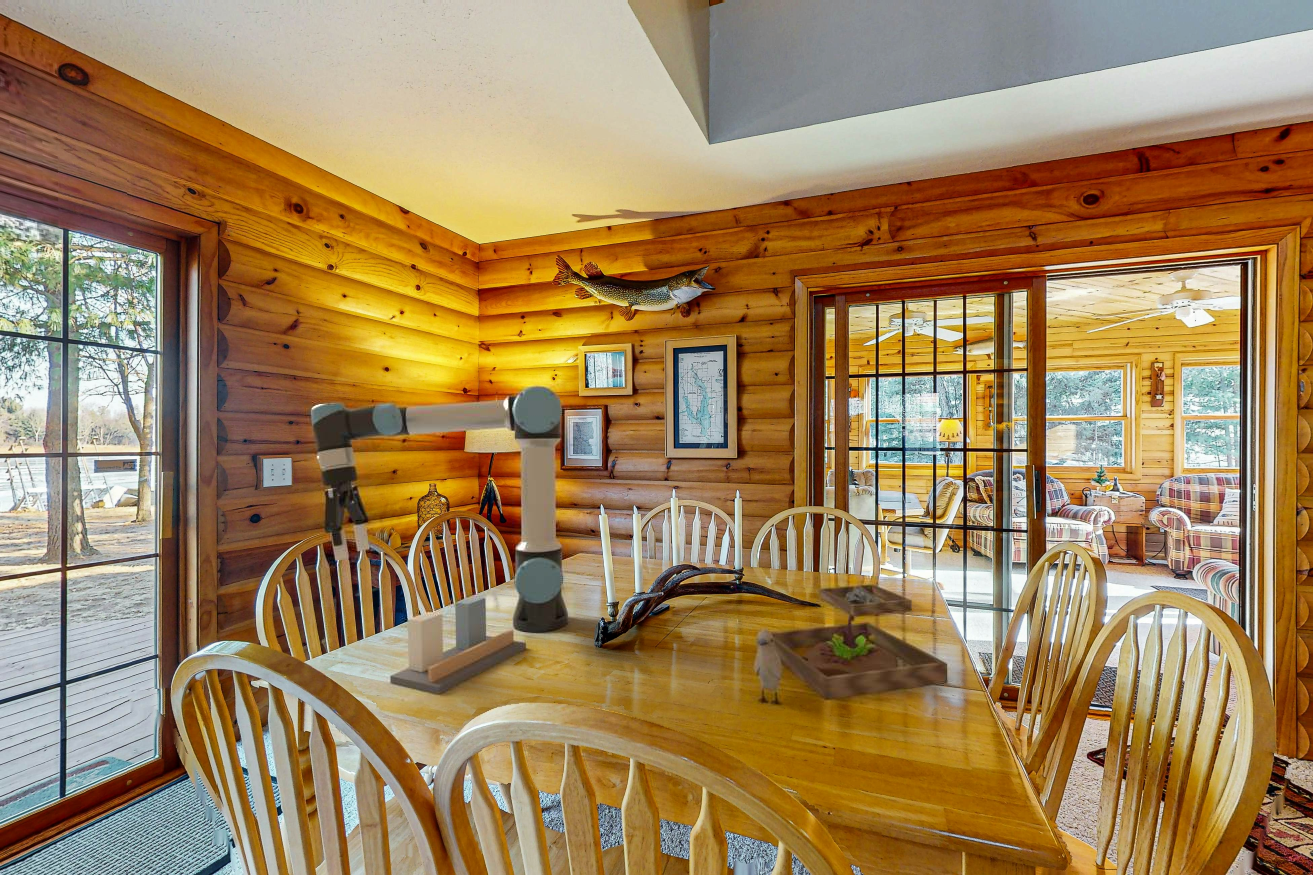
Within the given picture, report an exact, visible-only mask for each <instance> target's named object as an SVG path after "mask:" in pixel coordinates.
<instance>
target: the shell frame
mask: <svg viewBox="0 0 1313 875" xmlns="http://www.w3.org/2000/svg"><path fill="white" fill-rule="evenodd" d="M858 586H861V587H863V588H864V589H866V590H867V591H869V592H870V593H872V594H874V595H875V596H876V597H877V598H879V599H880V600H883V601H882V602H875V603H865V604H854V603H850V602H848V601H846V600H845V599H844V598H845V597H846V595H847V593H848V592H850V591H853V588H854V587H858ZM818 599H819V600H821V601H822V602H825V603H826V604H829V605H831V606H832V607H834V608H836V609H839V610H840V611H842V612H844V613H846V614H848V615H849V616H850V615H854V616H855V617H859V616H860V617H862V616H871V615H872V616H873V615H879V614H889V613H898V612H911V611H912V599H909V598H907V597H905V596H902V595H899V594H898V593H894V591H893V592H892V591H890V590H888V589H885V588H883V587H880V586H877V585H875V584H873V583H871V584H860V585H848V586H837V587H826V588H818Z"/></svg>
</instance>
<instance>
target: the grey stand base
mask: <svg viewBox="0 0 1313 875" xmlns="http://www.w3.org/2000/svg"><path fill="white" fill-rule="evenodd" d="M514 639H515V638H514V629H508V630H506V631H504V632H502V633H500V634H497V635H495V636H491V635H490V636H489V635H486V641H484V642H482V643H480V644H478V645H476V646H474V647H471V648H469V649H467V650H463V649H458V648H456V646H455V647H454V646H453V647H452V648H450V649H448V650H445V651H443V661H441V662H439V663H437V664H435V665H433V666H430V667H428V670H426V671H424V672H419V671H414V670H409V667H407V668H405V669H402V670H400V671H399V672H396V673H394V674H391V675H390V677H389V678H390V684H394V685H397V686H402V687H405V688H410V689H415V690H419V691H423V692H426V693H427V692H428V693H431V694H435V695H441V694H443V693H445V692H447V691H448V690H450V689H452V688H454V687H456V686H458V685H460V684H462V683H464V682H465V680H466V681H468V680H469V679H471V678H473V677H475V676H477V675H479V674H480V672H481V673H483V672H484V670H485V671H487V670H488V669H491V668H492V667H494V666H496V665H498V664H500V663H502V662H504V661H505V660H507V659H509V658H511V657H513V656H515V655H517V654H519V653H521V652H523V651H524V650H526V649H527V642H525V641H520V640H514ZM486 669H487V670H486ZM482 671H483V672H482ZM478 673H479V674H478ZM476 674H477V675H476ZM474 675H475V676H474ZM472 676H473V677H472ZM467 679H468V680H467ZM463 681H464V682H463ZM461 682H462V683H461ZM459 683H460V684H459Z"/></svg>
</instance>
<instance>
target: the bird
mask: <svg viewBox="0 0 1313 875" xmlns="http://www.w3.org/2000/svg"><path fill="white" fill-rule="evenodd" d="M770 632H771V631H769V629H766V628H764V629H762V630H760V631H759V632H758V634H757V635H756V647H757V650H756V651H757V652H756V657H755V658H754V659H755V660H754V666H753V669H754V672H755V674H756V676H758V679H759V681H760V685H761V691H762V692H761V694H762V696H761V697H762V698H758V700H757V703H759V701H761V704H762V703H763V702H766V703H768V701H767V699H766V697H765V695H764V693H765V689H766V690H767V691H768V690H769V691H772V690H774V695H775V696H774V697H775V699H774V700H772V701H771V702H770V704H772V703H774V705H776V704H779V705H780V706H782V704H781V703H780V701H779V700H778V698H777V697H778V690H779V684H780V682H781V679H782V676H783V675H782V674H783V670H782V668H783V667H782V663H781V660H780V658H779V655H778V653H777V651H776V649H775V647H774V642H773V636H772V634H771V633H770Z"/></svg>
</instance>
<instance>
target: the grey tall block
mask: <svg viewBox="0 0 1313 875" xmlns="http://www.w3.org/2000/svg"><path fill="white" fill-rule="evenodd" d="M486 600H487V599H486V597H483V596H474V595H472V596H469V597H467V598H464V599H461V600H459V601H458V600H457V601H456V602H455V604H454V605H455V606H454V607H455V647H456V648H458V649H463V650H467V649H469V648H471V647H474V646H476V645H478V644H480V643H482V642H484V641H486V636H487V610H486V609H487V605H486V604H487V602H486Z"/></svg>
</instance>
